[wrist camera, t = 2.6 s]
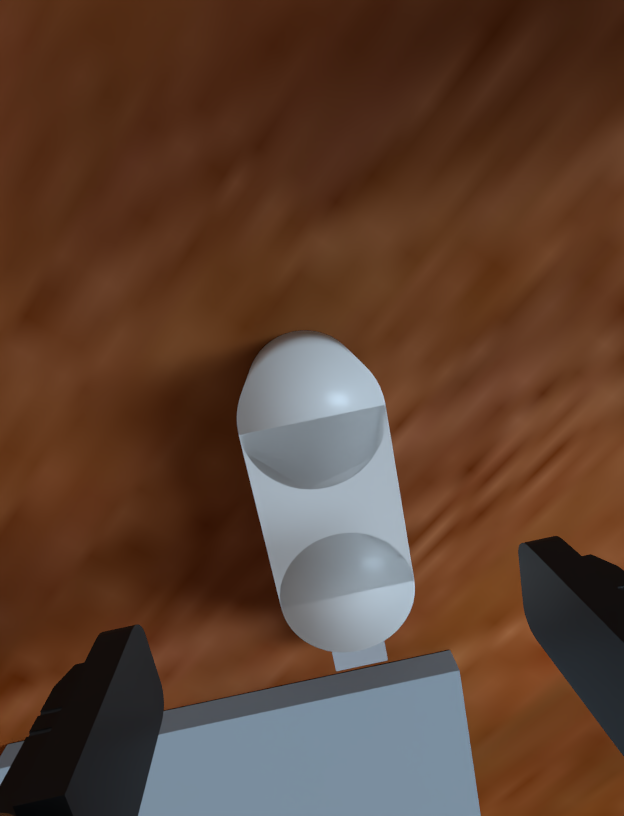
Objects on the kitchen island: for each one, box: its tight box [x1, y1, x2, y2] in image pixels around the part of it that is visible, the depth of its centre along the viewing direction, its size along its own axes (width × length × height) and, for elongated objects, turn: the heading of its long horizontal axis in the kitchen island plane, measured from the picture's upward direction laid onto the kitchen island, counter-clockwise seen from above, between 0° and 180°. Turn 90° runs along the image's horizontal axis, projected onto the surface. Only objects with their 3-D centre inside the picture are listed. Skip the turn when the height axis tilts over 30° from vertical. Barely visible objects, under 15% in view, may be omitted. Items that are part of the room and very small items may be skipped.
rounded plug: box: [237, 330, 415, 671], centre depth 18 cm, size 4×13×4 cm, turn 11°
